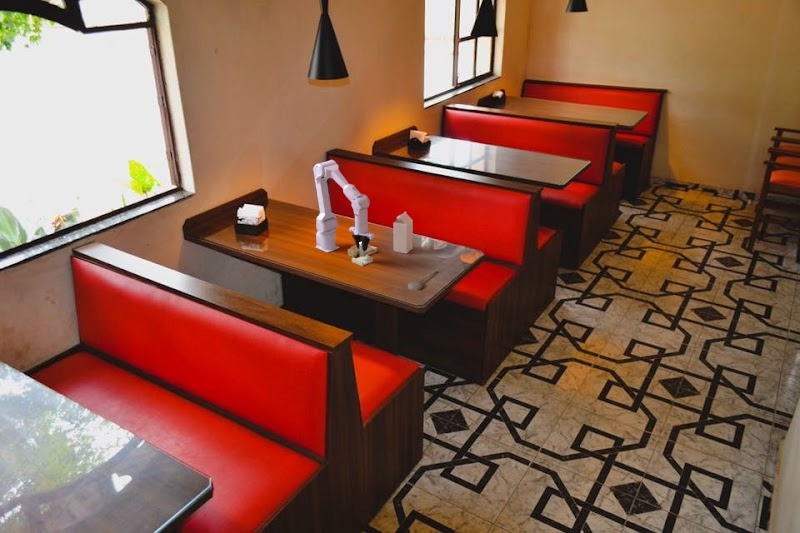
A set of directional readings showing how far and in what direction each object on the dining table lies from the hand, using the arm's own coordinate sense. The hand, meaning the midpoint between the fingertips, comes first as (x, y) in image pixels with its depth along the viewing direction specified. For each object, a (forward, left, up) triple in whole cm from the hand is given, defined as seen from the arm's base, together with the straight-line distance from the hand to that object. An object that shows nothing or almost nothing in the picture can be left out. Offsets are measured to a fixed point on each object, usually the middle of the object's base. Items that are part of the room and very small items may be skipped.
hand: (362, 249), depth 294 cm
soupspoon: (+34, +5, -7) cm, 36 cm away
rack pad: (0, 0, -6) cm, 6 cm away
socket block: (-9, +9, -6) cm, 14 cm away
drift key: (-9, +4, -6) cm, 11 cm away
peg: (0, 0, -3) cm, 3 cm away
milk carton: (+4, +23, -7) cm, 24 cm away
